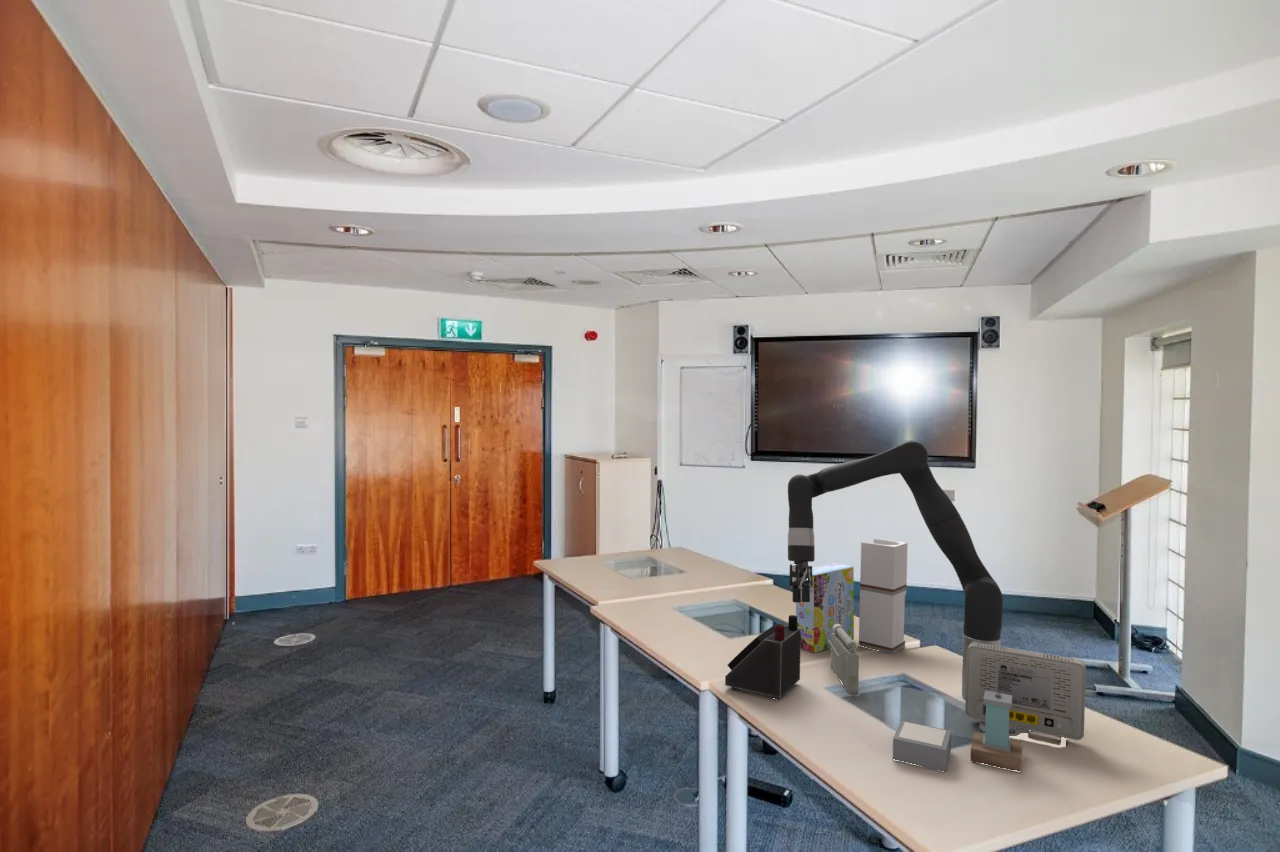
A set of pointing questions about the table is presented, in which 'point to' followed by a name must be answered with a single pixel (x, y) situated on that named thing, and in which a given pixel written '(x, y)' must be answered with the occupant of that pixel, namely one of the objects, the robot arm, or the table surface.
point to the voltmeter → (768, 661)
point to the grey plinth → (922, 745)
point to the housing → (997, 721)
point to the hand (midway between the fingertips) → (801, 602)
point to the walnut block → (996, 754)
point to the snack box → (827, 606)
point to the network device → (1028, 689)
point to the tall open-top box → (883, 595)
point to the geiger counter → (844, 658)
